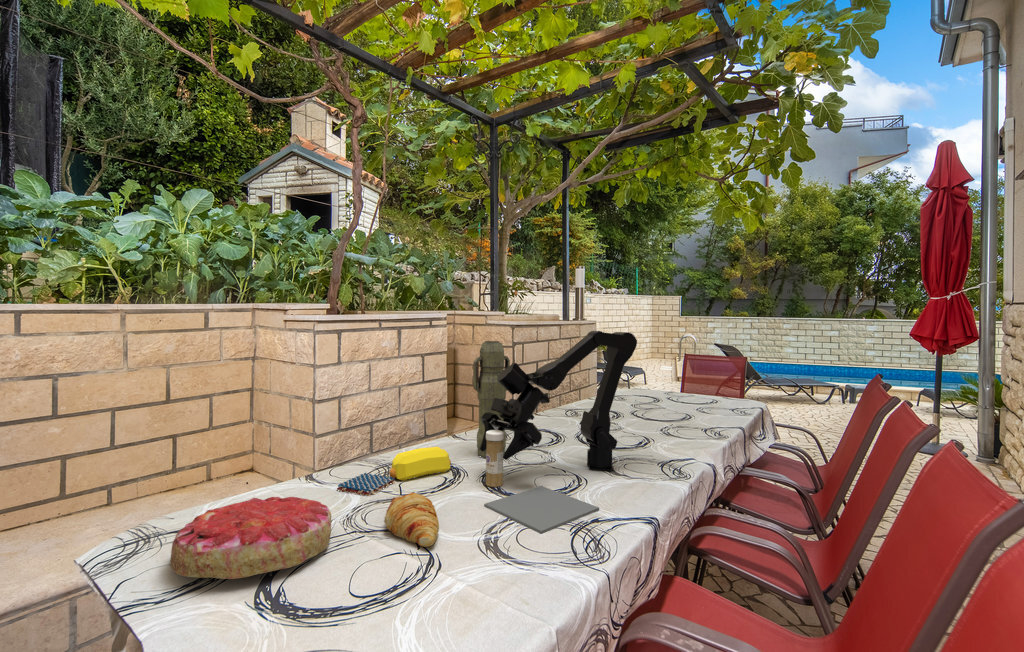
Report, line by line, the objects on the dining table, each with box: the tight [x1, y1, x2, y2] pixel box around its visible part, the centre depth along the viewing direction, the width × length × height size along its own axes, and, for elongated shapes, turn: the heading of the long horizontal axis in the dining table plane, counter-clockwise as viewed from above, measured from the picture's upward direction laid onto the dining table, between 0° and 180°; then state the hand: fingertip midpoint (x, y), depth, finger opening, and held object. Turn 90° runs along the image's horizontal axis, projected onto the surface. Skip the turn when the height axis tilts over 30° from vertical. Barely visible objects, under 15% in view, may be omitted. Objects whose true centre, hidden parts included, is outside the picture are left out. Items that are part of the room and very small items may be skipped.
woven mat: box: [336, 472, 396, 497], centre depth 118 cm, size 10×11×2 cm
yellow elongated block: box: [388, 446, 452, 481], centre depth 128 cm, size 18×7×8 cm
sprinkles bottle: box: [485, 430, 504, 488], centre depth 120 cm, size 5×5×14 cm
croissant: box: [384, 491, 440, 548], centre depth 94 cm, size 21×10×8 cm, turn 32°
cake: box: [169, 496, 332, 580], centre depth 84 cm, size 25×25×8 cm
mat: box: [483, 485, 600, 534], centre depth 105 cm, size 18×18×1 cm
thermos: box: [473, 340, 511, 459], centre depth 146 cm, size 9×12×35 cm
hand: (492, 454), depth 119 cm, fingers open, 9 cm apart
